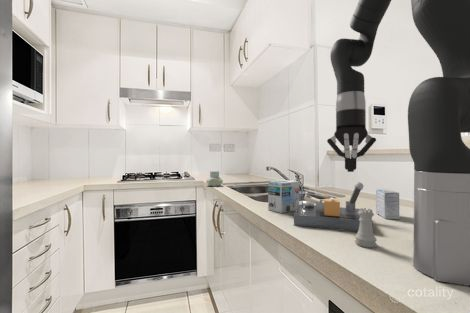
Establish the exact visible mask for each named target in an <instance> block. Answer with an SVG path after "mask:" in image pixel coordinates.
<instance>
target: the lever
mask: <svg viewBox="0 0 470 313" xmlns="http://www.w3.org/2000/svg"><path fill="white" fill-rule="evenodd" d="M363 189H364V184H363V183H362V182H360V181H359V182H358V181H357V182H355V183H354V189H353V192H352V194H351V196H350V199H349V203H352V204H355V205H356V203H357V200H358V198H359V195H360V193H361V191H362V190H363Z"/></svg>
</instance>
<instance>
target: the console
mask: <svg viewBox="0 0 470 313" xmlns="http://www.w3.org/2000/svg"><path fill="white" fill-rule="evenodd" d="M318 199H319V198H318ZM319 200H322V201H324V200H325V199H322V198H321V199H319ZM349 201H350V200H349ZM349 201H345V207H341V206H340V217H339V216H327V215H324V202H316V204H315V203H313V202H310V201H307V200H301V203H299V207H298V208H297V210H295V212H294V214H293V226H295V227H296V226H298V227H299V226H300V227H306V228H307V227H308V228H318V229H327V230H336V231H344V232H345V231H346V232H353V233H356V232H358V231H359V226H360V220H359V219H360V215H359V214H358V212H359V211H360V208H356V203H355V204H352V203H349ZM363 210H364V208H363ZM373 225H374V224H373V222H372V230H373V227H374V226H373Z"/></svg>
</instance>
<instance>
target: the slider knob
mask: <svg viewBox="0 0 470 313" xmlns="http://www.w3.org/2000/svg"><path fill="white" fill-rule="evenodd" d="M323 200H324V215H327V216H339V217H340V207H341V206H340V204H341V201H340V200H339V199H334V197H330V198H324V199H323Z"/></svg>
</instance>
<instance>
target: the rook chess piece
mask: <svg viewBox="0 0 470 313" xmlns="http://www.w3.org/2000/svg"><path fill="white" fill-rule="evenodd" d="M359 209H360V211H359V212H358V214H359V215H360V219H359V220H360V226H359V231H358V232H357V233H356V234H355V236H354V238H355V240H354V242H355V244H356V245H357V246H358V247H363V248H366V249H373V248H376V246H377V245H378V244H377V240H378V239H377V238H376V236H375V234H374V231H373V230H372V222H373V217H374V216H375V214H374V212H373V209H371V208H366V207H365V208H363V207H361V208H359ZM363 209H364V210H363Z"/></svg>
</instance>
